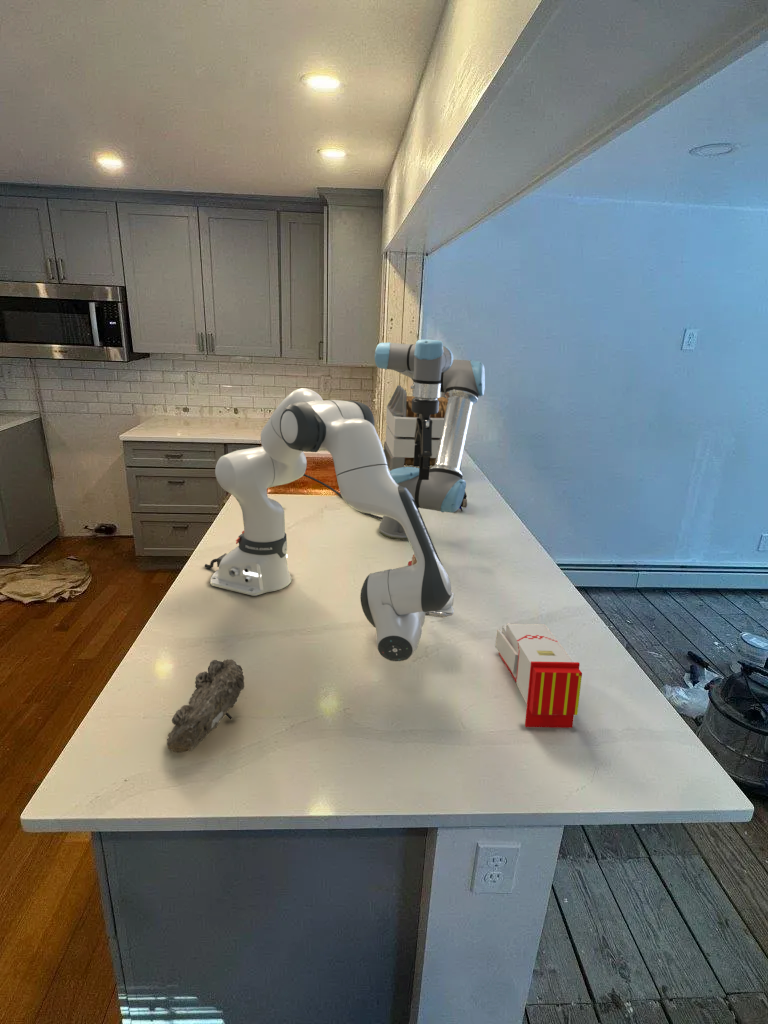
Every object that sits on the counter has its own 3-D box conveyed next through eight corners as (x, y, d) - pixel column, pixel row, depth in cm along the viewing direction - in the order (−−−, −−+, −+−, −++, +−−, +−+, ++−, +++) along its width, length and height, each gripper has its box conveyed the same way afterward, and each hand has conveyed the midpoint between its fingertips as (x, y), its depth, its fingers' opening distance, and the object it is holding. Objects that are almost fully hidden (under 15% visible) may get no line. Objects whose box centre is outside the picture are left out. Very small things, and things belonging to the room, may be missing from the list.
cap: (405, 567, 175) (406, 561, 174) (417, 565, 176) (418, 559, 175) (410, 572, 171) (410, 566, 170) (422, 571, 172) (422, 565, 172)
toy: (542, 608, 134) (591, 669, 104) (537, 660, 136) (583, 734, 107) (491, 607, 133) (526, 668, 104) (487, 660, 136) (520, 733, 107)
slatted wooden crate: (382, 463, 289) (386, 382, 275) (445, 464, 293) (451, 384, 279) (390, 482, 257) (394, 392, 243) (460, 483, 261) (468, 394, 247)
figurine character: (467, 516, 223) (461, 500, 237) (469, 499, 220) (463, 483, 233) (450, 516, 223) (446, 499, 236) (452, 498, 220) (447, 483, 233)
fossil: (192, 660, 117) (244, 628, 112) (224, 691, 120) (276, 661, 115) (142, 746, 98) (202, 712, 93) (182, 779, 101) (242, 748, 96)
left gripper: (454, 604, 124) (457, 577, 137) (363, 592, 128) (375, 566, 140) (451, 629, 127) (455, 600, 139) (362, 616, 130) (373, 588, 142)
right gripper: (407, 391, 167) (403, 461, 174) (417, 405, 144) (412, 485, 151) (432, 392, 168) (427, 461, 175) (446, 406, 144) (440, 485, 152)
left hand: (414, 583), depth 140 cm, fingers open, 8 cm apart
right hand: (420, 472), depth 163 cm, fingers open, 13 cm apart
